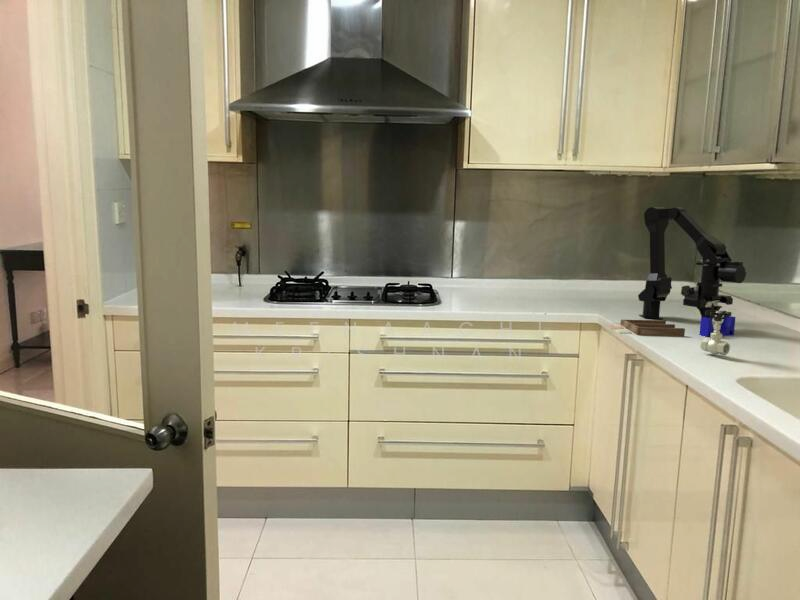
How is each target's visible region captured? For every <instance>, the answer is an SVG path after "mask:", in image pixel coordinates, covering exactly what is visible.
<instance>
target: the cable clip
mask: <svg viewBox="0 0 800 600" xmlns="http://www.w3.org/2000/svg"><path fill="white" fill-rule="evenodd" d="M736 318H737V317H735V316H732V315H731V316H730V317H726V318H725V319H722V321H721V322H722V323H720V324H721V327H720V330H719V331H720V333H721V334H722V337H725V336H734V334H735V327H736ZM699 325H700V326H699V327H700V328H699V336H700V335H701V336H700V337H704V336H705V337H704V338H711V337H710V334H711V333H713V331H714V330H715V329H714V324H713V319H711V318H706V317H701V316H700V324H699Z"/></svg>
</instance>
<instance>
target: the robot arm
mask: <svg viewBox="0 0 800 600" xmlns="http://www.w3.org/2000/svg"><path fill="white" fill-rule="evenodd" d="M643 218H644V219H643V220H644V226H645V228H646V229H647V230H648V232H649V275H648V276H647V279H646V280H645V286H644V289H643V290H642V291H641V292H640V293H638V295H637V296H638V300H639V301H640V302H643V304H642V314H638V317H641V318H643V319H644V320H663V319H664V318H663V317H662V316H660V312H661V311H660V310H661V302H666V300H667V297H668V296H669V295H670V293H671V291H672V289H673V286H672V280H673V279H672V277H670V276H669V277H668V275H667V274H666V261H665V260H666V255H665V249H666V248H665V231H666V230H667V228H668V226H669V222H670V221H674V222H675V223H676V224H677V225H678V226H679V228H681V229H682V230H683V232H685V233H686V235H688V237H689V238H690V239H691V241H693V242H694V244H695V246H696V247H695V248H696V250H697V252H698V253H699V255H700V257H701V259H700V260H698V261H697V262H696V263H695V265H696V266H701V274H700V281H698V282H697V283H696V286H694V287H691V286H690V285H682V286H681V291H680V295H682V296H683V297H684V298H683V300H682V302H683V303H682V305H683V306H685V307H694V308H696V309H697V310H698V311H699V314H700V318H701V317H706V318H711V319H712V320H714V319H713V318H712V317H711V316H710V313H709V314H708V315H706V314H705V313H706V311H707V310H712V311H714V310H719V311H720V309H722V305H719V303H721V304H726V305H728V306H729V305H730V306H731V305H733V303H734V301H733V300H734V298H733V297H732V295H727V294H721V293H719V291H720V288H721V287H722V288H723V283H722V282H724V283H725V282H726V283H732V284H742V283H743V282H744V281H745V278H746V276H747V272H746V268H745V266H744V262H743V261H733V260H732V258H731V257H730V255H729V253H728V252H727V246H726V245H725V243H724V242H723V241H721V240H720V239H718V238H716V237H714V236H712V235H710V234H709V233H707V232H706V231H705V230H704V228H703V227H702V226H701V225H700V224H698V222H697V221H696V220H695V219H694V218H693V217H692V216H691V215H690V214H689V213H688V212H687V210H686V209H685V208H683V207H672V208H666V207H661V206H660V207H656V206H655V207H654V206H650V207H648V208H647V209H646V210H645V211H644V212H643Z"/></svg>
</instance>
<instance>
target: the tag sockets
mask: <svg viewBox="0 0 800 600" xmlns="http://www.w3.org/2000/svg"><path fill="white" fill-rule="evenodd" d="M608 327H609V328H610V329H615V332H617V333H619V334H627V335H628V334H630V335H632V334H634V335H637V336H655V337H658V336H660V337H685V333H686V328H684V327H676V324H674V323H667V320H663V319H620V325H619V326H618V325H609V326H608Z"/></svg>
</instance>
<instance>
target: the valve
mask: <svg viewBox="0 0 800 600" xmlns="http://www.w3.org/2000/svg"><path fill="white" fill-rule="evenodd" d="M709 313H710V316H711V317H712V318H713V319H712V320H713V321H714V322H715V323H714V324H713V327H714V329H715V330H714V331H713V333H711V334H710V337H704V338H703V339H702V341H701V342H700V349H701V350H703V351H704V352H708V353H710V354H713V355H718V354H719V355H721V356H727V355H728V354H729V353H730V351H731V345H730V343H729V342H727V341H725V340H724V341H723V340H722V339H723V336H722V334H721V333H720V331H719V330H720V327H721V324H722V323H720V322H723V320H724V319H725V318H726V317H730V316H732V311H727V310H720V309H719V310H714V311H712V310H707V311H706V313H705V314H706V315H708V314H709Z"/></svg>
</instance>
